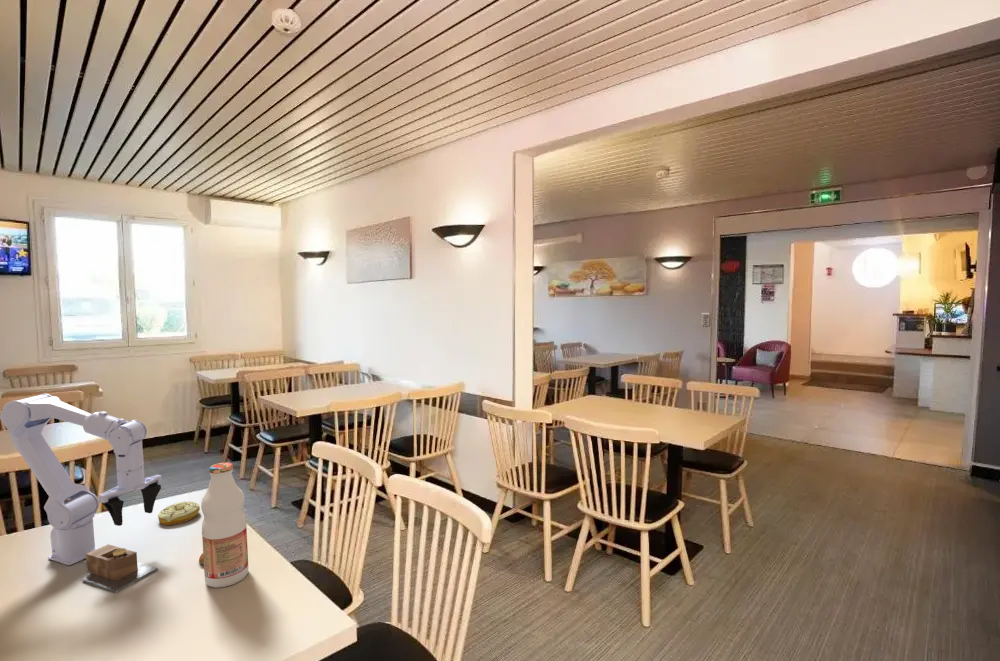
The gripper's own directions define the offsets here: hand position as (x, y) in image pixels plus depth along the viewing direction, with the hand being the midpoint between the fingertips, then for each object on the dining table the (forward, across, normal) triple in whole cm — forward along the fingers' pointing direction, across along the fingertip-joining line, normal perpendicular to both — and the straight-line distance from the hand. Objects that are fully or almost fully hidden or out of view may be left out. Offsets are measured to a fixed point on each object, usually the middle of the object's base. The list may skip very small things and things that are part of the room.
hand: (133, 518), depth 132 cm
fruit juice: (+10, +1, -32) cm, 34 cm away
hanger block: (+9, -8, -4) cm, 13 cm away
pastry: (+10, +7, -23) cm, 26 cm away
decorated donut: (+10, +19, +10) cm, 24 cm away
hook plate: (+10, -8, -7) cm, 15 cm away
